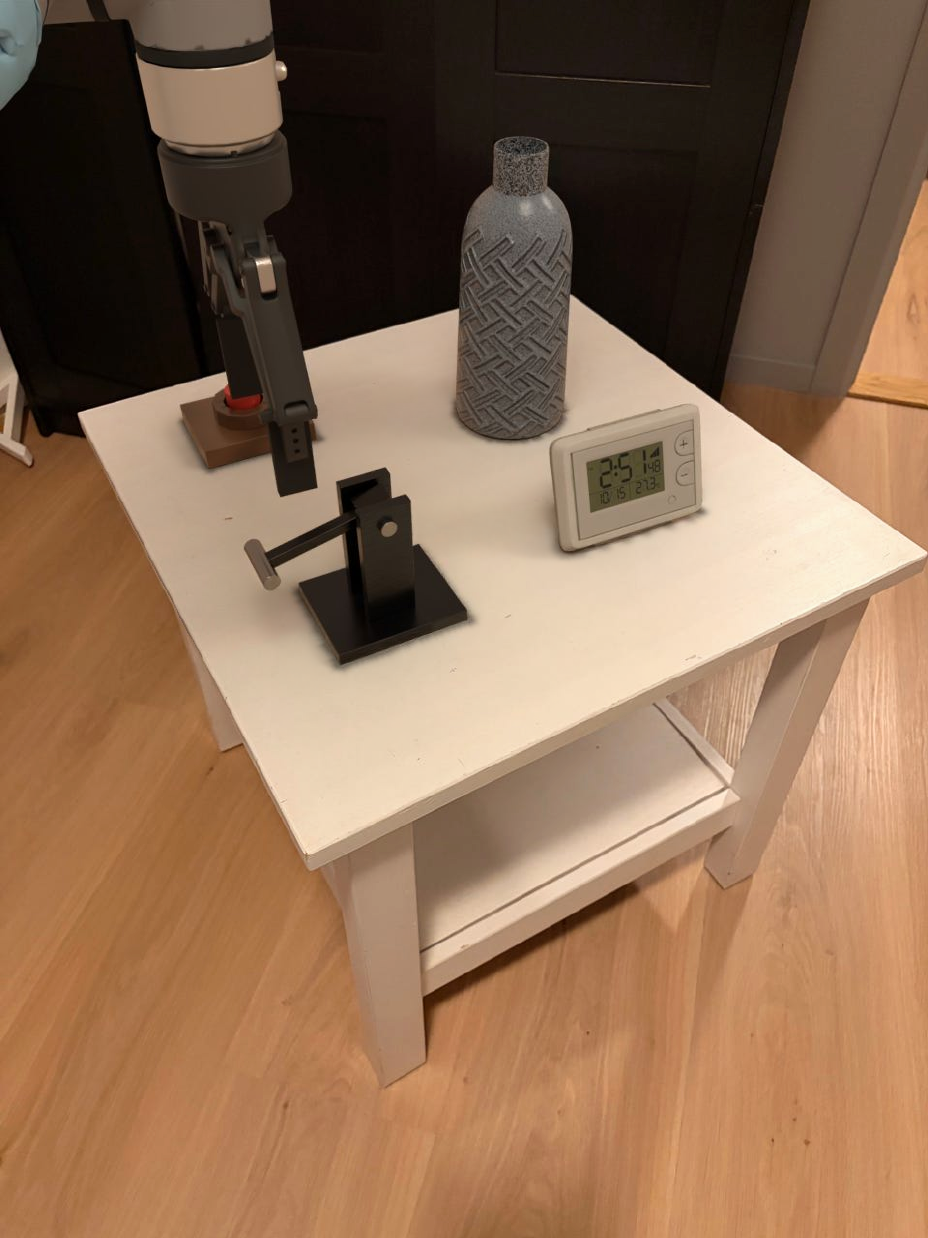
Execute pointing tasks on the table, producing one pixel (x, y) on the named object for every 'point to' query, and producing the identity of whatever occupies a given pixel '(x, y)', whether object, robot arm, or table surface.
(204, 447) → the button block
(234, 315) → the robot arm
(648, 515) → the digital clock
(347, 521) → the lever
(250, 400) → the button
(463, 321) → the vase
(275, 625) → the table surface
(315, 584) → the bracket
